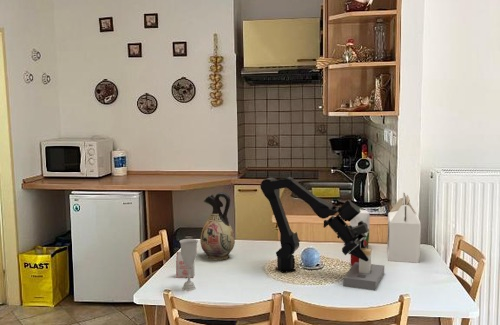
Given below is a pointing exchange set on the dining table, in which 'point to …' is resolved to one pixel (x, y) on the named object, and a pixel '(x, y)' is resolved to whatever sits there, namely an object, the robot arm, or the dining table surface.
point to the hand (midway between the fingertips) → (368, 259)
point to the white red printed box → (182, 267)
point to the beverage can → (354, 258)
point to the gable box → (403, 232)
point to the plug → (363, 265)
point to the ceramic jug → (217, 230)
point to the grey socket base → (363, 277)
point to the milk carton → (365, 218)
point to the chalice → (188, 259)
